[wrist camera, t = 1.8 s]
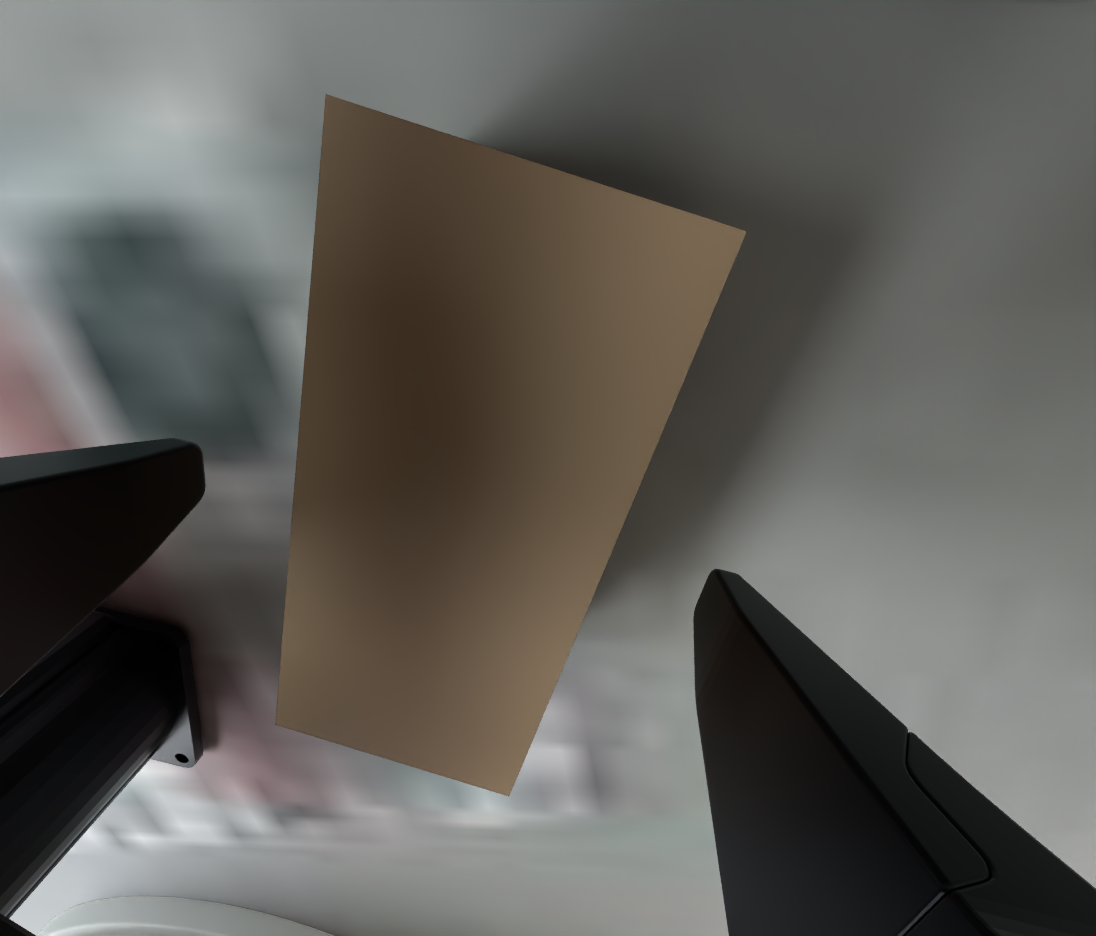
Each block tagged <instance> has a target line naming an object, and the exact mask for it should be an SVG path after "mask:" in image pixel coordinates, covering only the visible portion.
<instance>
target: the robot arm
mask: <svg viewBox="0 0 1096 936" xmlns="http://www.w3.org/2000/svg"><path fill="white" fill-rule="evenodd" d="M205 487H206V485H205V474H204V463H203V453H202V450H201V448H200V447H199V446H198V445H197V444H195V443H193V442H188V441H184V440H180V439H175V438H169V439H160V440H151V441H143V442H134V443H125V444H116V445H108V446H99V447H90V448H81V449H73V450H64V451H55V452H46V453H38V454H29V455H20V456H12V457H3V458H0V936H35V935H34V934H32V933H31V932H29V931H28V930H26V929H24V928H23V927H21V926H20V925H18V924H16V923H15V922H13V921H12V920H10V919H9V918H10V917H11V916H12V915H13V913H14V912H15V911H16V910H17V909H18V908H19V907H20V906H21V904H22V903H23V902H24V901H25V900H26V899H27V898H28V896H29V895H30V894H31V893H32V892H33V891H34V890H35V889H36V887H37V886H38V885H39V884H40V883H41V882H42V881H43V879H44V878H45V877H46V876H47V875H48V874H49V873H50V872H51V870H52V869H53V868H54V867H55V866H56V865H57V864H58V862H59V861H60V860H61V859H62V858H63V857H64V856H65V855H66V853H67V852H68V851H69V850H70V849H71V848H72V847H73V846H74V844H75V843H76V842H77V841H78V840H79V839H80V838H81V836H82V835H83V834H84V833H85V832H86V831H87V830H88V829H89V827H90V826H91V825H92V824H93V823H94V822H95V821H96V819H97V818H98V817H99V816H100V815H101V814H102V813H103V812H104V810H105V809H106V808H107V807H108V806H109V805H110V804H111V802H112V801H113V800H114V799H115V798H116V797H117V796H118V795H119V793H120V792H121V791H122V790H123V789H124V788H125V787H126V785H127V784H128V783H129V782H130V781H131V780H132V779H133V778H134V776H135V775H136V774H137V773H138V772H139V771H140V770H141V769H142V767H143V766H144V765H145V764H146V763H147V762H148V761H149V759H153V760H157V761H161V762H165V763H169V764H172V765H176V766H180V767H185V768H190V767H193V766H194V765H195V764H196V763H197V761H198V760H199V759H200V758H201V756H202V755H203V746H202V739H201V731H200V724H199V716H198V709H197V701H196V694H195V686H194V679H193V671H192V664H191V656H190V649H189V641H188V638H187V636H186V634H185V633H184V632H183V631H182V630H181V629H179V628H178V627H175V626H173V625H170V624H166V623H161V622H157V621H153V620H149V619H145V618H141V617H137V616H133V615H129V614H125V613H121V612H117V611H113V610H109V609H105V608H101V607H98V606H99V605H100V604H101V603H102V602H103V601H105V600H106V599H107V598H108V597H109V596H110V595H111V594H112V593H113V592H114V591H115V590H116V589H117V588H119V587H120V586H121V585H122V584H123V583H124V582H125V581H126V580H127V579H128V578H129V577H130V576H132V575H133V574H134V573H135V572H136V571H137V570H138V569H139V568H140V567H141V566H142V565H143V564H144V563H145V562H146V561H147V559H148V558H149V557H150V556H151V555H152V554H153V553H154V552H155V551H156V550H157V549H158V547H159V546H160V545H161V544H162V543H163V542H164V541H165V540H166V538H167V537H168V536H169V535H170V534H171V533H172V532H173V531H174V529H175V528H176V527H177V526H178V525H179V524H180V523H181V522H182V520H183V519H184V518H185V517H186V516H187V515H188V514H189V513H190V511H191V510H192V509H193V508H194V507H195V506H196V505H197V504H198V502H199V501H200V500H201V499H202V497H203V495H204V492H205ZM693 623H694V665H695V697H696V708H697V716H698V723H699V730H700V737H701V744H702V751H703V758H704V765H705V772H706V779H707V786H708V793H709V800H710V807H711V814H712V821H713V828H714V835H715V842H716V849H717V856H718V863H719V870H720V876H721V883H722V890H723V897H724V904H725V911H726V918H727V925H728V932H729V936H1096V888H1094V887H1093V886H1092V885H1091V884H1089V883H1088V882H1087V881H1086V880H1085V879H1083V878H1082V877H1081V876H1080V875H1079V874H1077V873H1076V872H1075V871H1074V870H1072V869H1071V868H1070V867H1069V866H1068V865H1066V864H1065V863H1064V862H1063V861H1062V860H1060V859H1059V858H1058V857H1057V856H1056V855H1054V854H1053V853H1052V852H1051V851H1049V850H1048V849H1047V848H1046V847H1045V846H1043V845H1042V844H1041V843H1040V842H1039V841H1037V840H1036V839H1035V838H1034V837H1032V836H1031V835H1030V834H1029V833H1028V832H1026V831H1025V830H1024V829H1023V828H1022V827H1021V826H1019V825H1018V824H1017V823H1016V822H1015V821H1013V820H1012V819H1011V818H1010V817H1009V816H1007V815H1006V814H1005V813H1004V812H1003V811H1001V810H1000V809H999V808H998V807H997V806H996V805H994V804H993V803H992V802H991V801H990V800H988V799H987V798H986V797H985V796H984V795H982V794H981V793H980V792H979V791H978V790H977V789H975V788H974V787H973V786H972V785H971V784H970V783H969V782H967V781H966V780H965V779H964V778H963V777H962V776H961V775H960V774H958V773H957V772H956V771H955V770H954V769H953V768H952V767H951V766H949V765H948V764H947V763H946V762H945V761H944V760H943V759H941V758H940V757H939V756H938V755H937V754H936V753H935V752H934V751H933V750H931V749H930V748H929V747H928V746H927V745H926V744H925V743H924V742H923V741H922V740H921V739H919V738H918V737H917V736H916V735H915V734H914V733H912V732H909V733H908V729H907V727H906V726H905V725H904V724H903V723H902V722H901V721H899V720H898V719H897V718H896V717H895V716H894V715H893V714H892V713H891V712H889V711H888V710H887V709H886V708H885V707H884V706H883V705H882V704H881V703H880V702H878V701H877V700H876V699H875V698H874V697H873V696H872V695H871V694H870V693H869V692H867V691H866V690H865V689H864V688H863V687H862V686H861V685H860V684H859V683H858V682H856V681H855V680H854V679H853V678H852V677H851V676H850V675H849V674H848V673H846V672H845V671H844V670H843V669H842V668H841V667H840V666H839V665H838V664H837V663H835V662H834V661H833V660H832V659H831V658H830V657H829V656H828V655H827V654H826V653H824V652H823V651H822V650H821V649H820V648H819V647H818V646H817V645H816V644H815V643H813V642H812V641H811V640H810V639H809V638H808V637H807V636H806V635H805V634H803V633H802V632H801V631H800V630H799V629H798V628H797V627H796V626H795V625H794V624H792V623H791V622H790V621H789V620H788V619H787V618H786V617H785V616H784V615H783V614H781V613H780V612H779V611H778V610H777V609H776V608H775V607H774V606H773V605H772V604H770V603H769V602H768V601H767V600H766V599H765V598H764V597H763V596H762V595H761V594H759V593H758V592H757V591H756V590H755V589H754V588H753V587H752V586H751V585H750V584H748V583H747V582H746V581H745V580H744V579H743V578H742V577H741V576H740V575H738V574H736V573H733V572H728V571H724V570H720V569H714V570H713V571H711V573H710V574H709V576H708V578H707V580H706V583H705V585H704V588H703V590H702V592H701V595H700V597H699V599H698V602H697V604H696V607H695V611H694V619H693Z"/></svg>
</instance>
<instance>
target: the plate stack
mask: <svg viewBox="0 0 1096 936" xmlns="http://www.w3.org/2000/svg"><path fill="white" fill-rule="evenodd" d="M37 936H334V935H331V934H329V933H326V932H323V931H320V930H318V929H315V928H312V927H309V926H306V925H303V924H300V923H297V922H294V921H291V920H287V919H284V918H281V917H277V916H273V915H270V914H266V913H262V912H258V911H254V910H250V909H246V908H241V907H236V906H232V905H227V904H221V903H215V902H209V901H203V900H195V899H187V898H177V897H163V896H126V897H114V898H106V899H100V900H95V901H91V902H87V903H83V904H80V905H77V906H74V907H72V908H69V909H67V910H65V911H63V912H61V913H60V914H58V915H57V916H55V917H54V918H53V919H51V920H50V921H49V922H48V923H47V924H46V925H45V927H44V928H43V929H42V930H41V931H40V933H39V934H38V935H37Z"/></svg>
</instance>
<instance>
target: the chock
mask: <svg viewBox="0 0 1096 936" xmlns="http://www.w3.org/2000/svg"><path fill="white" fill-rule="evenodd" d="M746 232H747V231H744V230H741V229H738V228H735V227H732V226H729V225H726V224H722V223H719V222H716V221H713V220H710V219H707V218H704V217H701V216H698V215H695V214H692V213H689V212H686V211H683V210H680V209H676V208H673V207H670V206H667V205H664V204H661V203H658V202H655V201H652V200H649V199H646V198H643V197H640V196H637V195H633V194H630V193H627V192H624V191H621V190H618V189H615V188H612V187H609V186H606V185H603V184H600V183H597V182H594V181H590V180H587V179H584V178H581V177H578V176H575V175H572V174H569V173H566V172H563V171H560V170H557V169H554V168H551V167H547V166H544V165H541V164H538V163H535V162H532V161H529V160H526V159H523V158H520V157H517V156H514V155H511V154H508V153H505V152H501V151H498V150H495V149H492V148H489V147H486V146H483V145H480V144H477V143H474V142H471V141H468V140H465V139H462V138H458V137H455V136H452V135H449V134H446V133H443V132H440V131H437V130H434V129H431V128H428V127H425V126H422V125H419V124H415V123H412V122H409V121H406V120H403V119H400V118H397V117H394V116H391V115H388V114H385V113H382V112H379V111H376V110H372V109H369V108H366V107H363V106H360V105H357V104H354V103H351V102H348V101H345V100H342V99H339V98H336V97H333V96H330V95H326V98H325V110H324V123H323V135H322V148H321V160H320V173H319V185H318V198H317V210H316V223H315V235H314V248H313V260H312V273H311V285H310V298H309V310H308V323H307V335H306V348H305V360H304V373H303V385H302V398H301V410H300V423H299V435H298V448H297V460H296V473H295V485H294V498H293V510H292V523H291V535H290V548H289V560H288V573H287V585H286V598H285V610H284V623H283V635H282V648H281V660H280V673H279V685H278V698H277V710H276V723H275V725H278V726H281V727H285V728H288V729H291V730H294V731H298V732H301V733H304V734H307V735H311V736H314V737H317V738H321V739H324V740H327V741H330V742H334V743H337V744H340V745H343V746H347V747H350V748H353V749H356V750H360V751H363V752H366V753H369V754H373V755H376V756H379V757H382V758H386V759H389V760H392V761H395V762H399V763H402V764H405V765H408V766H412V767H415V768H418V769H421V770H425V771H428V772H431V773H434V774H438V775H441V776H444V777H447V778H451V779H454V780H457V781H461V782H464V783H467V784H470V785H474V786H477V787H480V788H483V789H487V790H490V791H493V792H496V793H500V794H503V795H506V796H509V795H510V793H511V791H512V788H513V786H514V783H515V781H516V779H517V776H518V774H519V772H520V769H521V767H522V764H523V762H524V760H525V757H526V755H527V753H528V750H529V748H530V745H531V743H532V741H533V738H534V736H535V734H536V731H537V729H538V726H539V724H540V722H541V719H542V717H543V715H544V712H545V710H546V707H547V705H548V703H549V700H550V698H551V696H552V693H553V691H554V688H555V686H556V684H557V681H558V679H559V677H560V674H561V672H562V669H563V667H564V665H565V662H566V660H567V657H568V655H569V653H570V650H571V648H572V646H573V643H574V641H575V638H576V636H577V634H578V631H579V629H580V627H581V624H582V622H583V619H584V617H585V615H586V612H587V610H588V608H589V605H590V603H591V600H592V598H593V596H594V593H595V591H596V589H597V586H598V584H599V581H600V579H601V577H602V574H603V572H604V570H605V567H606V565H607V562H608V560H609V558H610V555H611V553H612V551H613V548H614V546H615V543H616V541H617V539H618V536H619V534H620V532H621V529H622V527H623V524H624V522H625V520H626V517H627V515H628V513H629V510H630V508H631V505H632V503H633V501H634V498H635V496H636V493H637V491H638V489H639V486H640V484H641V482H642V479H643V477H644V474H645V472H646V470H647V467H648V465H649V463H650V460H651V458H652V455H653V453H654V451H655V448H656V446H657V444H658V441H659V439H660V436H661V434H662V432H663V429H664V427H665V425H666V422H667V420H668V417H669V415H670V413H671V410H672V408H673V406H674V403H675V401H676V398H677V396H678V394H679V391H680V389H681V387H682V384H683V382H684V379H685V377H686V375H687V372H688V370H689V368H690V365H691V363H692V360H693V358H694V356H695V353H696V351H697V349H698V346H699V344H700V341H701V339H702V337H703V334H704V332H705V330H706V327H707V325H708V322H709V320H710V318H711V315H712V313H713V310H714V308H715V306H716V303H717V301H718V299H719V296H720V294H721V291H722V289H723V287H724V284H725V282H726V280H727V277H728V275H729V272H730V270H731V268H732V265H733V263H734V261H735V258H736V256H737V253H738V251H739V249H740V246H741V244H742V242H743V239H744V237H745V234H746Z"/></svg>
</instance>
